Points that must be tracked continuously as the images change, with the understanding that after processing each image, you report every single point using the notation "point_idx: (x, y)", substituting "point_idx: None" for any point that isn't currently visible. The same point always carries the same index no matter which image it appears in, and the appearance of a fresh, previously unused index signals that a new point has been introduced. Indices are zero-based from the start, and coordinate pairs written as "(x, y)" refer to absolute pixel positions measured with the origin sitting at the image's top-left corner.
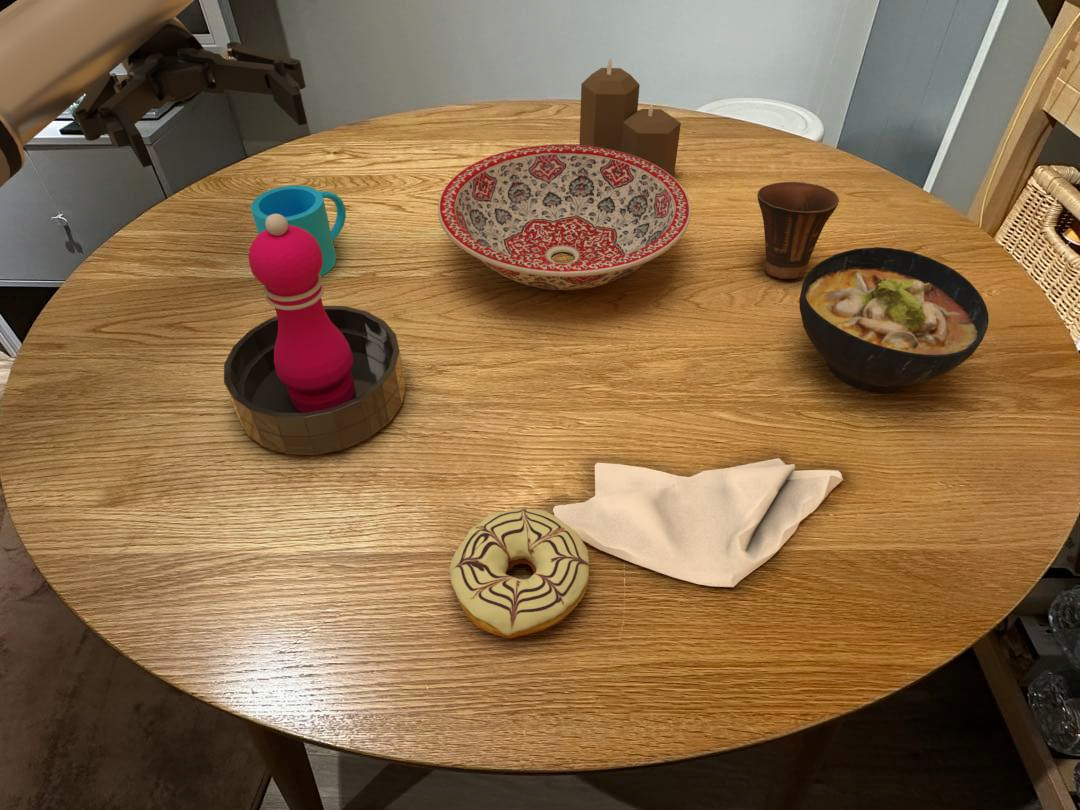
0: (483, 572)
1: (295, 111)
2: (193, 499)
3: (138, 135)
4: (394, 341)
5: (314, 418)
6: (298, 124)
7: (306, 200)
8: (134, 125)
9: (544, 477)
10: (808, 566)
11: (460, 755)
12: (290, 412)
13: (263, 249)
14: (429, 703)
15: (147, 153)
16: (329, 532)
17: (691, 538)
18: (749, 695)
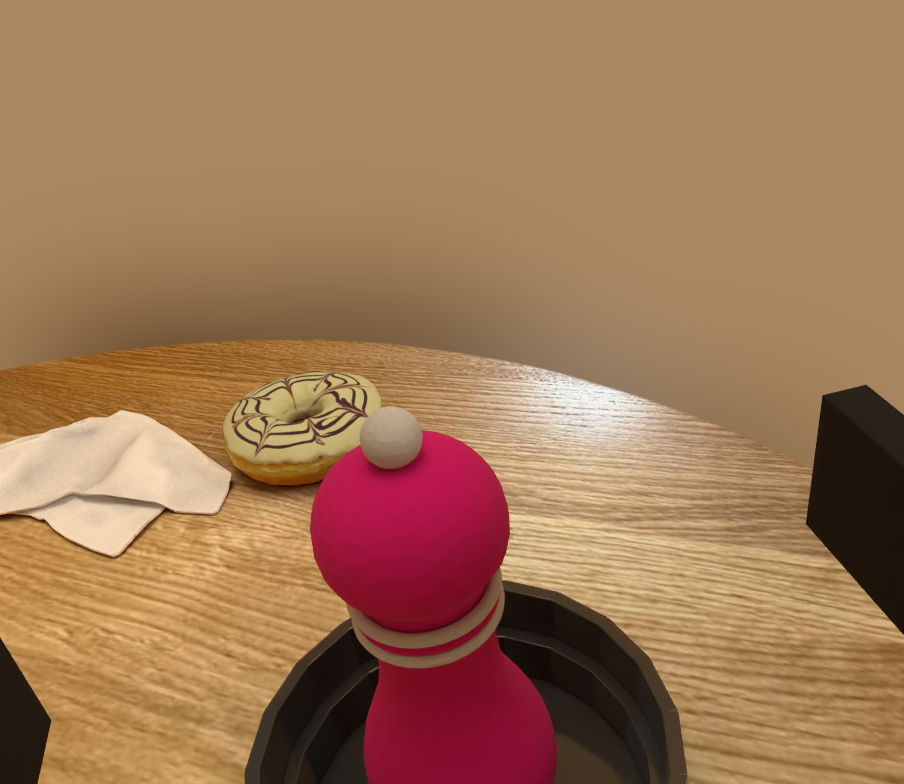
0: (343, 397)
1: (17, 677)
2: (740, 627)
3: (832, 395)
4: (259, 742)
5: None
6: (48, 732)
7: None
8: (902, 460)
9: (192, 556)
10: (42, 424)
11: (434, 351)
12: (555, 774)
13: (451, 440)
14: (447, 378)
15: (815, 477)
16: (513, 535)
17: (113, 446)
18: (196, 358)
